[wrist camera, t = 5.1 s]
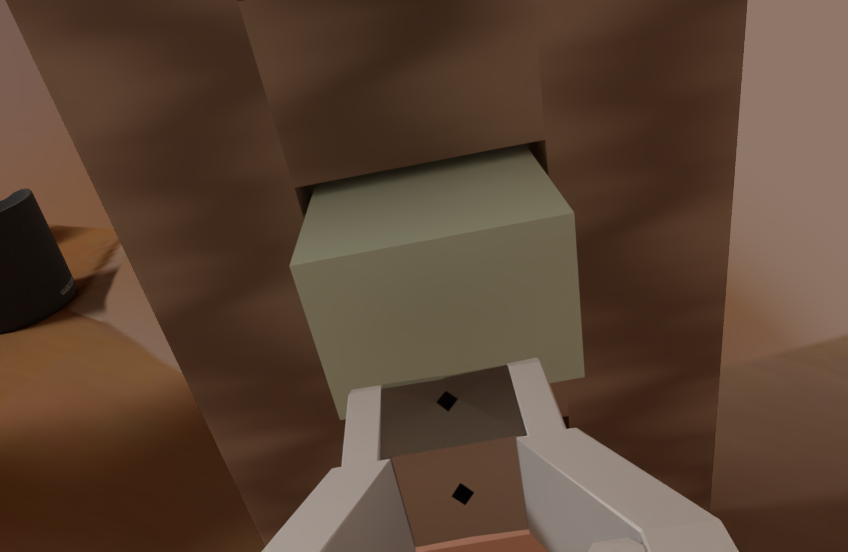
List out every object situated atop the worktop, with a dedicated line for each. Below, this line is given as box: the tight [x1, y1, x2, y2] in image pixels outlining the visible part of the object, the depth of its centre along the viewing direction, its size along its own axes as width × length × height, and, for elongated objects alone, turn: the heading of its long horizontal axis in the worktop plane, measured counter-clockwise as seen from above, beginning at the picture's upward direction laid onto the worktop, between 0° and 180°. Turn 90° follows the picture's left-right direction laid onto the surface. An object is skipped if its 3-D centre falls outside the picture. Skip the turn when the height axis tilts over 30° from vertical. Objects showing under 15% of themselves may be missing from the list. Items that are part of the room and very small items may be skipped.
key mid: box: [289, 144, 585, 420], centre depth 14 cm, size 5×6×4 cm
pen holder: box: [0, 189, 76, 333], centre depth 53 cm, size 9×9×10 cm
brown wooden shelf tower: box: [6, 0, 747, 547], centre depth 15 cm, size 15×12×34 cm
